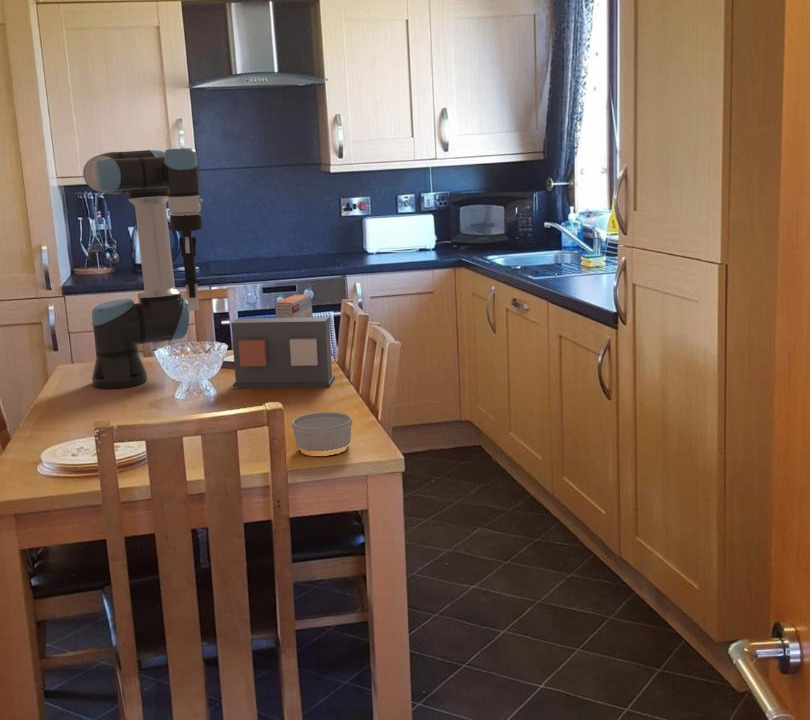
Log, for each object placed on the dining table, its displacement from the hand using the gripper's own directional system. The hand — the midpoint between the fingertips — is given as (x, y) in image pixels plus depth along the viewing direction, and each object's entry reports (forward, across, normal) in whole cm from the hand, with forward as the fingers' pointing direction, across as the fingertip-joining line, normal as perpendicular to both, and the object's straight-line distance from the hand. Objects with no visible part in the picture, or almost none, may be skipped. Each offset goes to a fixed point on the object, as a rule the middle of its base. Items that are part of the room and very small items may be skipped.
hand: (193, 310), depth 247 cm
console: (+26, +24, -22) cm, 42 cm away
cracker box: (+27, +42, -27) cm, 57 cm away
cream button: (+20, +21, -29) cm, 41 cm away
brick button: (+20, +25, -15) cm, 35 cm away
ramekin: (+27, -38, -27) cm, 54 cm away
